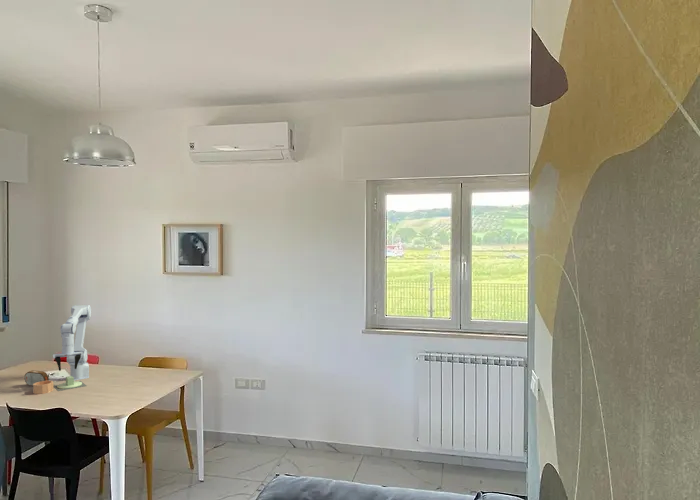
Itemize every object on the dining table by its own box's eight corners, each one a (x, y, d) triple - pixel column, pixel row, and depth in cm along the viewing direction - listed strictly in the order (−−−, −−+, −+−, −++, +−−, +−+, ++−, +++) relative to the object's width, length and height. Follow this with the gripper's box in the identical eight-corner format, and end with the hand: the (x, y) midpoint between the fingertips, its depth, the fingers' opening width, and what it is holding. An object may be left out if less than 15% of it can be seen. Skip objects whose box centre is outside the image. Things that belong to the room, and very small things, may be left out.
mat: (80, 381, 278) (80, 380, 278) (86, 386, 268) (86, 385, 268) (52, 386, 269) (52, 385, 269) (58, 391, 258) (58, 391, 258)
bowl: (51, 388, 264) (51, 379, 264) (54, 392, 258) (54, 383, 258) (32, 392, 258) (31, 382, 258) (34, 395, 252) (34, 386, 252)
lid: (79, 381, 277) (79, 373, 277) (84, 385, 268) (84, 377, 268) (55, 385, 269) (55, 377, 269) (59, 390, 260) (59, 381, 260)
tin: (49, 386, 270) (49, 371, 270) (44, 387, 267) (44, 372, 267) (28, 384, 274) (28, 369, 274) (23, 385, 271) (23, 371, 271)
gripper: (53, 347, 261) (53, 372, 260) (83, 344, 270) (83, 368, 269) (52, 345, 266) (51, 370, 266) (81, 343, 275) (81, 367, 274)
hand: (67, 369), depth 268 cm, fingers open, 7 cm apart
